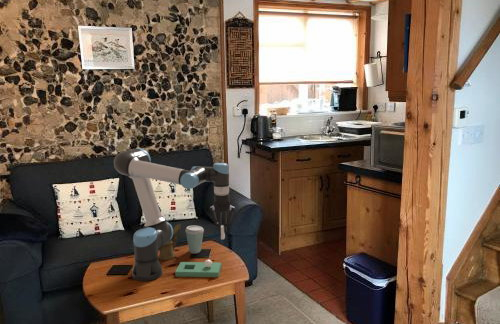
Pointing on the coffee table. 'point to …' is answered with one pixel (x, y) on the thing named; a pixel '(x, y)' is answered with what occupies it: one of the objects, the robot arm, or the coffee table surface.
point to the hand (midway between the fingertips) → (222, 238)
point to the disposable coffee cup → (194, 238)
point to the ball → (208, 263)
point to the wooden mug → (169, 246)
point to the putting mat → (198, 269)
